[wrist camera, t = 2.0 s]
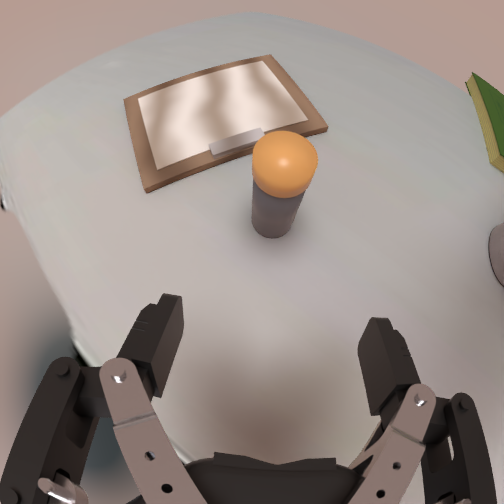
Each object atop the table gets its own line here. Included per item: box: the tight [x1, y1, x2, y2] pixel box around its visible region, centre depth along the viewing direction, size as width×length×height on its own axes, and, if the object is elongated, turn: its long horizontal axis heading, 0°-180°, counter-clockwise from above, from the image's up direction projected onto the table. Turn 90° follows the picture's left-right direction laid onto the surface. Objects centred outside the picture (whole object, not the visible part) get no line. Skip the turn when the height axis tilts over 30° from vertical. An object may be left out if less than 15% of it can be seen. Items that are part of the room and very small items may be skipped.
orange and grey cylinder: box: [252, 131, 318, 238], centre depth 22 cm, size 4×4×11 cm
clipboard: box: [124, 55, 328, 193], centre depth 31 cm, size 22×16×2 cm
